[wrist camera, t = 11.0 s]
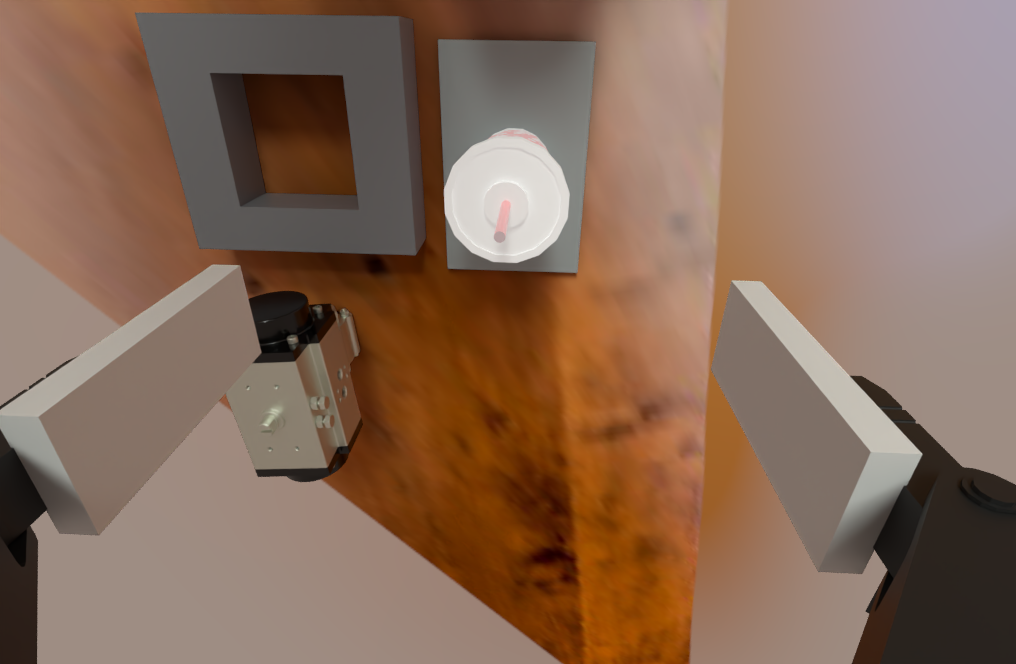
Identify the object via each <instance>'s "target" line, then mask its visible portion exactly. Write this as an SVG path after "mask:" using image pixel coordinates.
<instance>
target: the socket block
mask: <svg viewBox="0 0 1016 664" xmlns="http://www.w3.org/2000/svg"><path fill="white" fill-rule="evenodd" d="M135 15H136V18H137V22H138V26H139V29H140V33H141V37H142V40H143V44H144V48H145V51H146V55H147V59H148V62H149V66H150V69H151V73H152V77H153V80H154V84H155V88H156V91H157V95H158V99H159V102H160V106H161V110H162V113H163V117H164V121H165V124H166V128H167V132H168V135H169V139H170V143H171V146H172V150H173V153H174V157H175V161H176V164H177V168H178V172H179V175H180V179H181V183H182V186H183V190H184V194H185V197H186V201H187V205H188V208H189V212H190V216H191V219H192V223H193V227H194V230H195V234H196V238H197V241H198V245H199V248H200V249H226V250H259V251H293V252H326V253H359V254H392V255H416V254H417V253H418V251H419V249H420V248H421V246H422V244H423V242H424V241H425V239H426V226H425V210H424V193H423V177H422V161H421V145H420V128H419V112H418V96H417V80H416V64H415V47H414V31H413V19H409V18H405V17H400V16H349V15H273V14H197V13H135ZM242 73H243V74H300V75H343V81H344V89H345V97H346V106H347V114H348V122H349V131H350V139H351V147H352V155H353V164H354V172H355V180H356V189H357V195H324V194H286V193H266V192H265V187H264V182H263V177H262V172H261V167H260V162H259V157H258V152H257V147H256V142H255V137H254V132H253V127H252V122H251V117H250V112H249V107H248V102H247V97H246V92H245V87H244V82H243V77H242Z"/></svg>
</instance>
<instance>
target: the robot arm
mask: <svg viewBox="0 0 1016 664" xmlns="http://www.w3.org/2000/svg"><path fill="white" fill-rule="evenodd" d="M260 354H261V349H260V345H259V341H258V337H257V332H256V328H255V324H254V320H253V316H252V312H251V308H250V304H249V300H248V296H247V291H246V287H245V283H244V279H243V275H242V271H241V267H240V265H211V266H210V267H208V268H207V269H205V270H204V271H202V272H201V273H199V274H198V275H196V276H195V277H193V278H192V279H191V280H189V281H188V282H186V283H185V284H183V285H182V286H180V287H179V288H177V289H176V290H174V291H173V292H172V293H170V294H169V295H167V296H166V297H164V298H163V299H161V300H160V301H158V302H157V303H155V304H154V305H153V306H151V307H150V308H148V309H147V310H145V311H144V312H142V313H141V314H139V315H138V316H136V317H135V318H134V319H132V320H131V321H129V322H128V323H126V324H125V325H123V326H122V327H120V328H119V329H117V330H116V331H115V332H113V333H112V334H110V335H109V336H107V337H106V338H105V339H103V340H102V341H100V342H98V343H97V344H96V345H94V346H93V347H91V348H90V349H88V350H87V351H85V352H84V353H82V354H81V355H79V356H77V357H75V358H73V359H71V360H68V361H66V362H65V363H63V364H62V365H60V366H59V367H57V368H56V369H54V370H53V371H51V372H50V373H48V374H47V375H46V378H41V379H40V380H38V381H37V382H36V383H34V384H32V385H31V386H29V390H23V391H22V392H20V393H19V394H18V395H16V396H15V397H13V398H12V399H10V400H9V401H7V402H6V403H4V404H3V405H1V406H0V664H37V584H38V581H37V579H38V571H37V570H38V540H37V538H36V535H35V533H34V531H33V530H32V528H31V526H30V525H31V524H32V523H33V522H34V521H35V520H36V519H37V518H39V517H40V515H42V514H43V513H44V512H45V511H47V513H48V514H49V516H50V518H51V520H52V521H53V523H54V525H55V527H56V529H57V530H58V532H59V533H61V534H80V535H100V534H101V533H102V531H103V530H104V529H105V528H106V527H107V526H108V525H109V524H110V523H111V521H112V520H113V519H114V518H115V517H116V516H117V515H118V513H119V512H120V511H121V510H122V509H123V508H124V506H126V505H127V503H128V502H129V501H130V500H131V499H132V498H133V497H134V496H135V494H136V493H137V492H138V491H139V490H140V489H141V488H142V487H143V485H144V484H145V483H146V482H147V481H148V480H149V478H151V476H152V475H153V474H154V473H155V472H156V471H157V470H158V468H159V467H160V466H161V465H162V464H163V463H164V462H165V461H166V460H167V458H168V457H169V456H170V455H171V454H172V453H173V452H174V450H175V449H176V448H177V447H178V446H179V445H180V443H182V442H183V440H184V439H185V438H186V437H187V436H188V435H189V434H190V433H191V431H192V430H193V429H194V428H195V427H196V426H197V425H198V424H199V422H200V421H201V420H202V419H203V418H204V416H205V415H207V413H208V412H209V411H210V410H211V409H212V408H213V407H214V405H215V404H216V403H217V402H218V401H219V400H220V399H221V398H222V397H223V395H224V394H225V393H226V392H227V391H228V390H229V389H230V388H231V386H232V385H233V384H234V383H235V382H236V381H237V380H238V379H239V377H240V376H241V375H242V374H243V373H244V372H245V371H246V370H247V368H248V367H249V366H250V365H251V364H252V363H253V362H254V361H255V359H256V358H257V357H258V356H259V355H260ZM711 370H712V372H713V374H714V376H715V378H716V380H717V382H718V384H719V386H720V388H721V389H722V391H723V393H724V395H725V397H726V399H727V401H728V403H729V405H730V406H731V408H732V410H733V412H734V414H735V416H736V418H737V420H738V422H739V423H740V425H741V427H742V429H743V431H744V433H745V435H746V437H747V439H748V440H749V442H750V444H751V446H752V448H753V450H754V452H755V454H756V456H757V457H758V459H759V461H760V463H761V465H762V467H763V469H764V471H765V473H766V475H767V476H768V478H769V480H770V482H771V484H772V486H773V488H774V490H775V492H776V493H777V495H778V497H779V499H780V501H781V503H782V505H783V506H784V508H785V510H786V512H787V514H788V516H789V518H790V520H791V522H792V524H793V525H794V527H795V529H796V531H797V533H798V535H799V537H800V539H801V540H802V543H803V544H804V546H805V548H806V550H807V552H808V554H809V556H810V558H811V560H812V561H813V563H814V565H815V567H816V569H817V571H818V572H833V573H853V574H855V573H856V574H862V573H863V571H864V569H865V567H866V565H867V563H868V561H869V559H870V557H871V556H872V554H873V552H874V550H875V551H876V553H877V554H878V556H879V557H880V559H881V560H882V562H883V563H884V565H885V566H886V568H887V569H888V570H887V572H886V574H885V576H884V578H883V580H882V582H881V583H880V585H879V587H878V589H877V591H876V593H875V594H874V596H873V598H872V600H871V602H870V604H869V606H868V608H867V610H866V612H867V613H869V617H868V620H867V623H866V625H865V628H864V631H863V634H862V637H861V640H860V642H859V645H858V648H857V651H856V654H855V656H854V659H853V662H852V664H1016V485H1015V484H1013V483H1011V482H1009V481H1007V480H1005V479H1002V478H1001V477H998V476H996V475H994V474H990V473H987V472H984V471H981V470H977V469H973V468H964V467H962V466H961V465H960V464H959V463H957V461H956V460H955V459H954V458H953V457H952V456H951V455H950V454H949V453H948V452H947V451H946V450H945V449H944V448H943V447H941V445H940V444H939V443H938V442H937V441H936V440H935V439H934V438H933V437H932V436H931V435H930V434H929V433H927V431H926V430H925V429H924V428H923V427H922V426H921V425H920V424H916V423H915V421H916V420H915V419H914V418H913V417H912V416H911V415H909V413H908V412H907V411H906V410H902V406H901V405H900V404H899V403H898V402H897V401H896V400H895V399H894V398H892V396H891V395H890V394H889V393H887V391H885V390H884V389H882V388H881V387H879V386H877V385H875V384H874V383H872V382H870V381H869V380H867V379H866V378H864V377H862V376H849V375H848V374H847V373H846V372H845V371H844V370H843V368H842V367H841V366H840V365H839V364H838V363H837V362H836V361H835V360H834V359H833V358H832V357H831V356H830V355H829V354H828V352H827V351H826V350H825V349H824V348H823V347H822V346H821V345H820V344H819V343H818V342H817V341H816V340H815V338H813V336H812V335H811V334H810V333H809V332H808V331H807V330H806V329H805V328H804V327H803V326H802V325H801V323H799V321H797V319H796V318H795V317H794V316H793V315H792V314H791V313H790V312H789V311H788V310H787V309H786V307H785V306H784V305H783V304H782V303H781V302H780V301H779V300H778V299H777V298H776V297H775V296H774V295H773V294H772V293H771V291H770V290H769V289H768V288H767V287H766V286H765V285H764V284H763V283H762V282H760V281H731V285H730V290H729V294H728V298H727V303H726V307H725V311H724V315H723V320H722V324H721V328H720V333H719V337H718V341H717V346H716V350H715V354H714V358H713V363H712V367H711Z"/></svg>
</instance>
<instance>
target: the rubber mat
mask: <svg viewBox="0 0 1016 664" xmlns="http://www.w3.org/2000/svg"><path fill="white" fill-rule="evenodd" d="M595 48H596V42H581V41H513V40H445V39H438V54H439V78H440V101H441V124H442V147H443V171H444V188H445V185H446V183H447V180H448V177H449V175H450V172H451V169H452V167H453V165H454V164H455V163H456V162H457V161H458V160H459V159H460V158H461V157H462V156H463V155H464V154H465V153H466V152H467V151H468V149H469V148H470V147H471V146H473V145H475V144H477V143H480V142H482V141H485V140H487V139H489V138H490V137H491V136H492V135H493V134H495V133H497V132H500V131H502V130H505V129H507V128H515V129H524V130H526V131H528V132H530V133H532V134H534V135H536V136H537V137H538V138H539V139H540V141H541V142H542V143H543V144H544V145H545V146H546V149H547V151H548V153H549V154H550V155H551V156H552V157H553V158H554V160H555V161H556V162H557V163H558V164H559V165H560V166H561V168H562V171H563V174H564V177H565V180H566V184H567V187H568V190H569V193H570V196H569V209H568V219H567V221H566V223H565V225H564V227H563V229H562V231H561V233H560V235H559V236H558V238H557V240H556V241H555V242H554V243H553V244H551V245H550V246H549V247H548V248H547V249H546V250H544V251H543V252H542V253H541V254H540V255H538V256H535V257H532V258H530V259H527V260H524V261H521V262H518V263H506V262H492V261H490V260H488V259H485V258H483V257H481V256H478V255H476V254H474V253H472V252H471V251H470V250H469V249H467V248H466V247H465V246H464V245H463V244H462V243H461V242H460V241H459V240H458V239H457V238H456V237H455V236H454V233H453V231H452V229H451V227H450V224H449V222H448V220H447V218H446V240H447V264H448V269H472V270H504V271H536V272H568V273H577V271H578V259H579V246H580V234H581V221H582V209H583V197H584V184H585V172H586V159H587V147H588V134H589V122H590V110H591V97H592V85H593V72H594V60H595ZM445 217H446V215H445Z"/></svg>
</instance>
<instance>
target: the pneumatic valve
mask: <svg viewBox="0 0 1016 664" xmlns="http://www.w3.org/2000/svg"><path fill="white" fill-rule="evenodd" d="M248 300H249V304H250V308H251V312H252V316H253V320H254V324H255V328H256V332H257V337H258V341H259V345H260V349H261V354H260V355H259V356H258V357H257V358H256V359H255V361H254V362H253V363H252V364H251V365H250V366H249V367H248V368H247V370H246V371H245V372H244V373H243V374H242V375H241V376H240V377H239V379H238V380H237V381H236V382H235V383H234V384H233V385H232V386H231V388H230V389H229V390H228V391H227V392H226V396H227V399H228V401H229V404H230V406H231V409H232V411H233V414H234V417H235V419H236V422H237V424H238V427H239V429H240V432H241V435H242V437H243V440H244V442H245V445H246V447H247V450H248V452H249V455H250V458H251V460H252V463H253V465H254V468H255V470H256V473H257V476H258V477H270V476H287V477H288V478H290V479H292V480H294V481H298V482H310V481H316V480H320V479H322V478H325V477H327V476H329V475H331V474H333V473H334V472H336V471H337V470H338V469H340V468H341V467H342V466H343V465H344V463H345V462H346V460H347V458H348V456H349V453H350V451H351V449H352V447H353V445H354V442H355V440H356V438H357V436H358V434H359V432H360V429H361V427H362V425H363V423H362V419H361V415H360V411H359V407H358V403H357V399H356V395H355V391H354V387H353V383H352V379H351V375H350V371H351V367H350V363H351V362H352V361H353V359H354V357H356V356H358V355H359V354H358V353H359V352H360V346H359V342H358V338H357V333H356V329H355V325H354V321H353V317H352V313H350V312H348V309H346V308H342V309H341V310H340V314H337V311H336V309H335V306H334V305H332V304H315V305H309V302H308V299H307V297H306V296H305V295H304V294H302V293H300V292H295V291H279V292H272V293H267V294H263V295H259V296H256V297H253V298H250V299H248Z"/></svg>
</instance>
